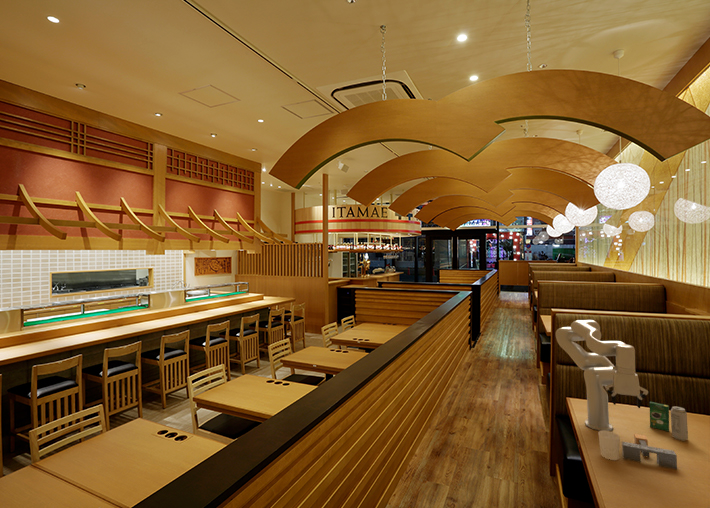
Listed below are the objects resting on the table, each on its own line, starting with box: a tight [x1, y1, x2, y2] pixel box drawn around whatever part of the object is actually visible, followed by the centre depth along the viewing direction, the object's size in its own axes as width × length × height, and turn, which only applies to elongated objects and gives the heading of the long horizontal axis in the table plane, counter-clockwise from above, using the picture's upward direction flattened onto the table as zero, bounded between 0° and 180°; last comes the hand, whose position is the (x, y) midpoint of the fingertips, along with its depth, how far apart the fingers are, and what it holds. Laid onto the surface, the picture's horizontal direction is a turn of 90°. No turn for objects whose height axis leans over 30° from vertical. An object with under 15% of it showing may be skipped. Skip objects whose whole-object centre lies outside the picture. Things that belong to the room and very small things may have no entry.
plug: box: [633, 433, 650, 458], centre depth 170 cm, size 14×4×4 cm, turn 150°
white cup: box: [598, 431, 620, 461], centre depth 165 cm, size 8×8×10 cm
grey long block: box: [621, 441, 678, 470], centre depth 160 cm, size 4×18×6 cm, turn 61°
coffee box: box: [649, 401, 670, 432], centre depth 190 cm, size 8×3×13 cm, turn 44°
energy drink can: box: [670, 405, 689, 442], centre depth 180 cm, size 6×6×15 cm
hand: (626, 405), depth 175 cm, fingers open, 9 cm apart
